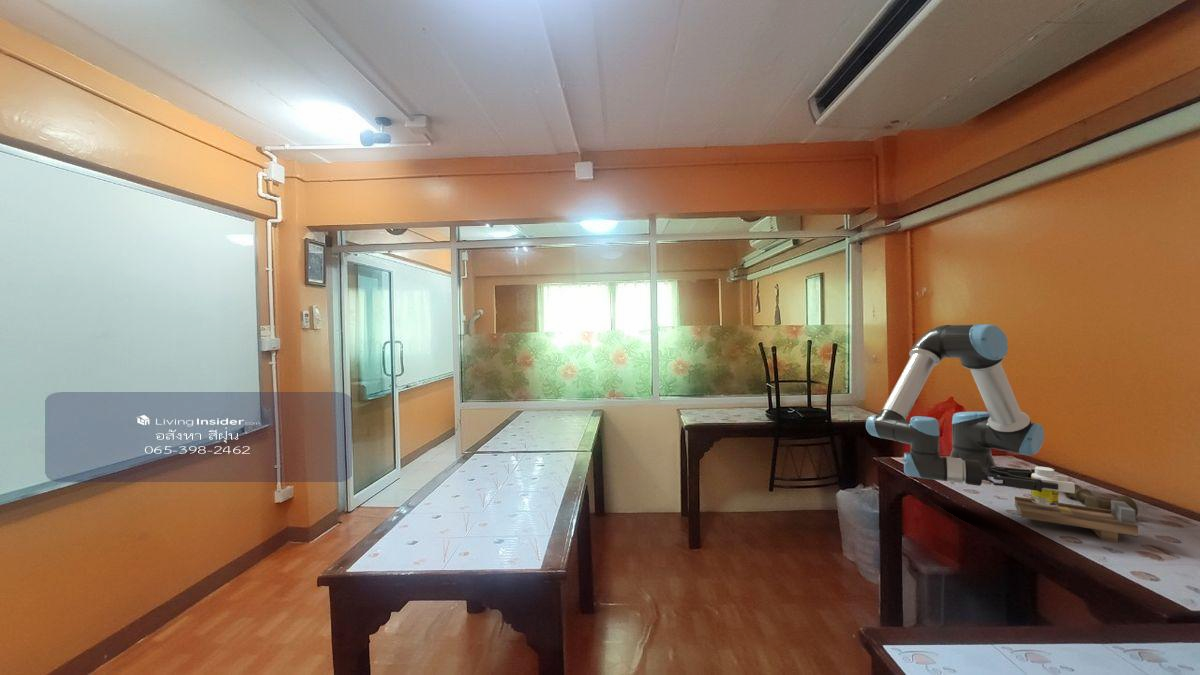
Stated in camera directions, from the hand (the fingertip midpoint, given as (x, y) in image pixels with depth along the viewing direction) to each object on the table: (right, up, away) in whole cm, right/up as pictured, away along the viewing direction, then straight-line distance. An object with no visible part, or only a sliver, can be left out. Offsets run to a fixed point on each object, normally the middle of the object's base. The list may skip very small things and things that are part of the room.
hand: (1070, 484), depth 125 cm
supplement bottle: (-4, -7, +3) cm, 9 cm away
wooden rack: (+1, -12, 0) cm, 12 cm away
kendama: (+21, -12, +12) cm, 27 cm away
